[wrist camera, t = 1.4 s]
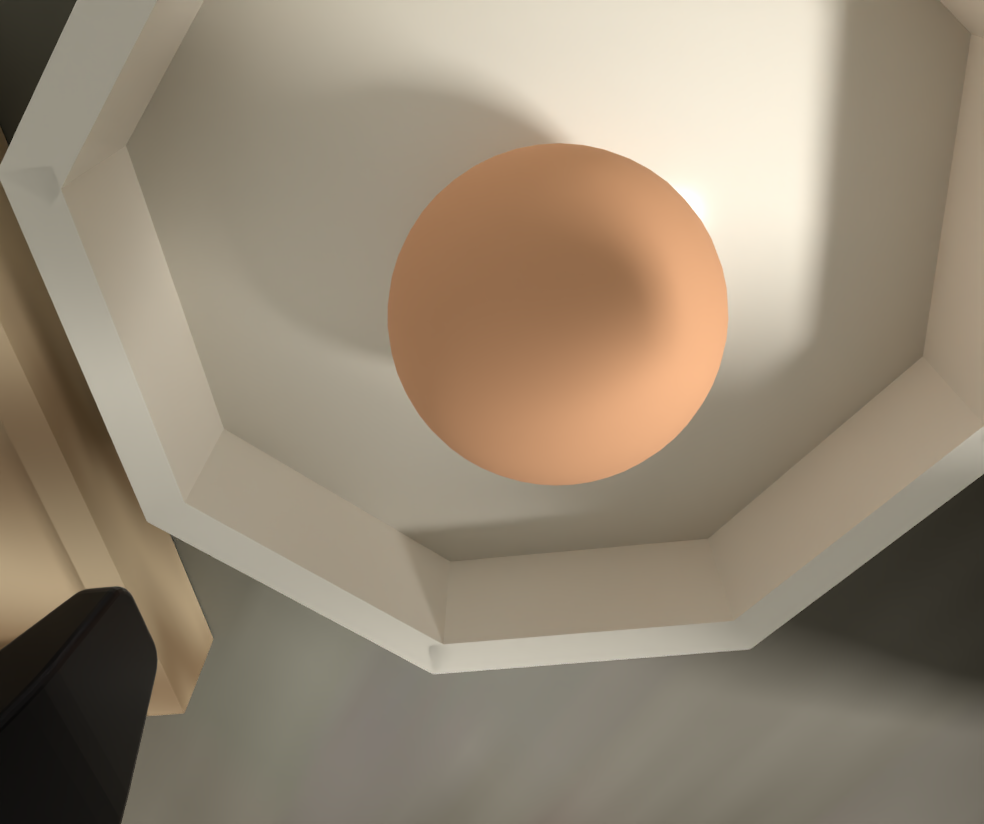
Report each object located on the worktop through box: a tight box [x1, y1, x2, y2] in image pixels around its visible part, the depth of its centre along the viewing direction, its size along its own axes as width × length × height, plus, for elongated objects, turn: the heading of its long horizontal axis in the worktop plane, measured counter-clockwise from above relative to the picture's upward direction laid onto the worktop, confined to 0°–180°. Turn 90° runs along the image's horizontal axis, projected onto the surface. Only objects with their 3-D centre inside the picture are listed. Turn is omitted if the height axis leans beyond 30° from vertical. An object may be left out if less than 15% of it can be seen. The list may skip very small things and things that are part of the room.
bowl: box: [0, 0, 984, 674], centre depth 14 cm, size 15×15×3 cm
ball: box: [388, 143, 728, 486], centre depth 13 cm, size 5×5×5 cm
